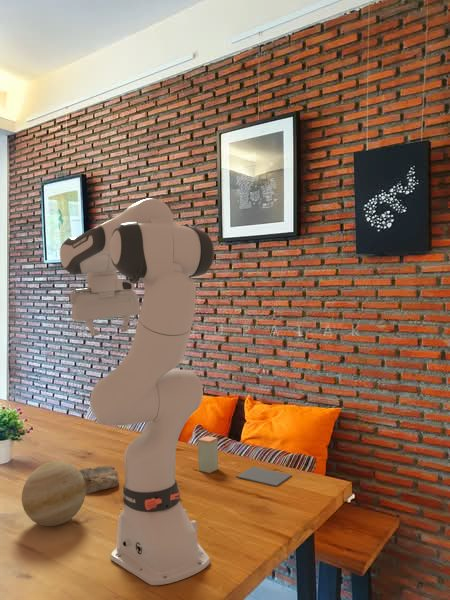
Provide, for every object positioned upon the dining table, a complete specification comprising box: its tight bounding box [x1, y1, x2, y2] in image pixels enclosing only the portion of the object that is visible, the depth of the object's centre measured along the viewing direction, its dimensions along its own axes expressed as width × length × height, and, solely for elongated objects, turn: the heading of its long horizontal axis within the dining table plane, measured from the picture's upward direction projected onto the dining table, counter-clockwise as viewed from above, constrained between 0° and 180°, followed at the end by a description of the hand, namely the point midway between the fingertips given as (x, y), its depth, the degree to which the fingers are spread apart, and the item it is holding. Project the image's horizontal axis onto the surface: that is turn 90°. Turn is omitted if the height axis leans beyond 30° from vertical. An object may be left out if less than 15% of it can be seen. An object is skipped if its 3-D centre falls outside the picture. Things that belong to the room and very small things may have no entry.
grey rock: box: [78, 465, 120, 495], centre depth 143 cm, size 14×5×20 cm
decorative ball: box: [21, 460, 87, 527], centre depth 119 cm, size 15×15×15 cm
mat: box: [236, 466, 293, 487], centre depth 148 cm, size 14×10×1 cm
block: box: [197, 435, 219, 474], centre depth 155 cm, size 4×4×10 cm
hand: (109, 333), depth 141 cm, fingers open, 8 cm apart
